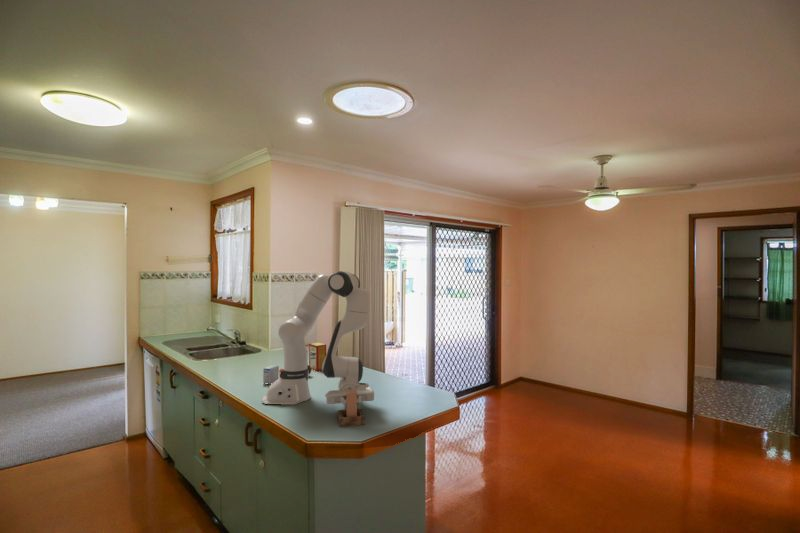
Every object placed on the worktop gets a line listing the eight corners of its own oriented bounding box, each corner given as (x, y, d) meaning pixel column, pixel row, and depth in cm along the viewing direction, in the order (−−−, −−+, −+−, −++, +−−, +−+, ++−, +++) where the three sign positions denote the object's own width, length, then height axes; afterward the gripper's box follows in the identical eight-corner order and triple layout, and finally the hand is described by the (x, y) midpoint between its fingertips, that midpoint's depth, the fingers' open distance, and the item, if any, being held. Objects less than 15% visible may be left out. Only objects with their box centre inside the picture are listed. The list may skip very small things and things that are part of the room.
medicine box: (271, 380, 218) (271, 365, 218) (278, 381, 216) (278, 365, 216) (263, 384, 210) (263, 368, 210) (270, 385, 209) (270, 368, 209)
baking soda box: (309, 368, 244) (309, 343, 244) (318, 366, 248) (318, 341, 249) (317, 371, 237) (317, 345, 237) (326, 369, 242) (326, 343, 242)
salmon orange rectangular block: (347, 418, 156) (346, 393, 156) (346, 414, 160) (346, 390, 160) (356, 417, 157) (356, 392, 157) (356, 414, 161) (355, 389, 161)
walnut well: (339, 426, 153) (339, 419, 153) (338, 417, 162) (338, 410, 162) (364, 424, 155) (364, 417, 155) (361, 415, 164) (361, 408, 164)
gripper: (325, 386, 169) (325, 396, 156) (371, 383, 173) (376, 392, 160) (325, 400, 169) (325, 412, 156) (371, 397, 173) (376, 408, 160)
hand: (351, 402), depth 158 cm, fingers closed on salmon orange rectangular block, 4 cm apart
